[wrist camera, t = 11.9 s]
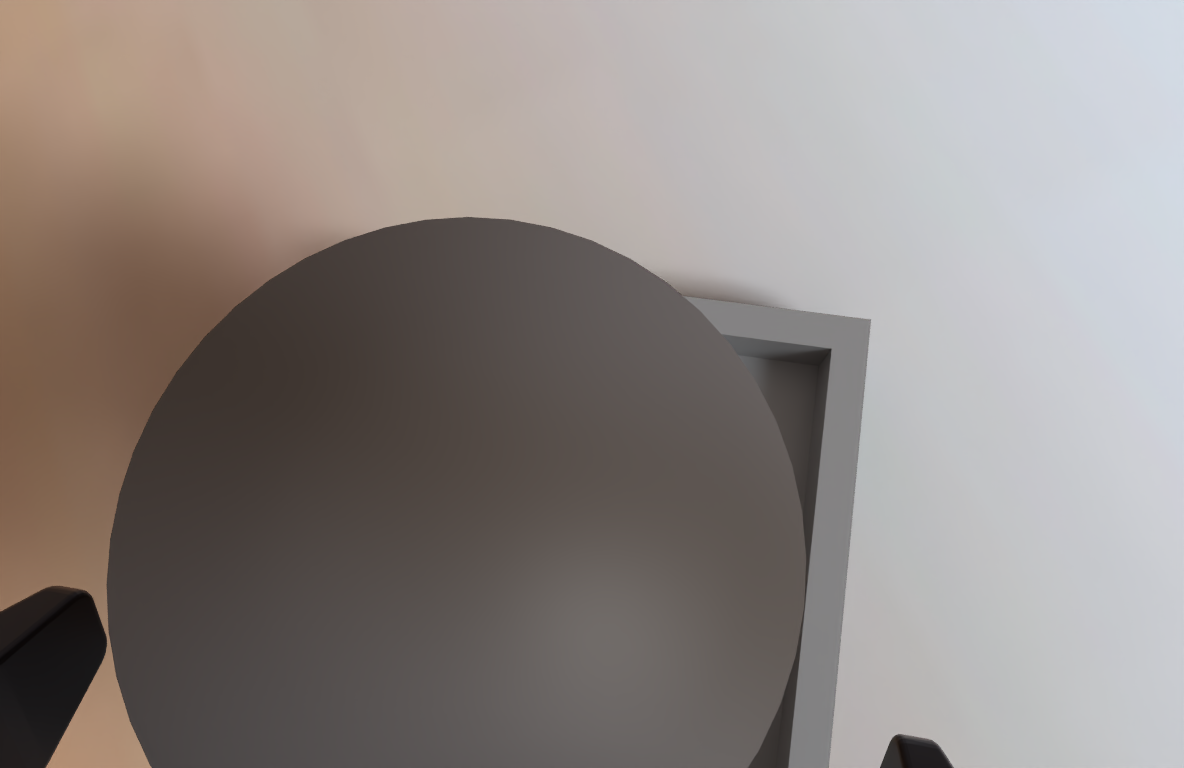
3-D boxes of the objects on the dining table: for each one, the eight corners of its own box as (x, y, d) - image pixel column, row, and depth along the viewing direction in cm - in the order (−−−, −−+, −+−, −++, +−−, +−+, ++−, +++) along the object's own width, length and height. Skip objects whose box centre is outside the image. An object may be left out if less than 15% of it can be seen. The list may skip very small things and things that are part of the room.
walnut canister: (669, 730, 20) (696, 1058, 6) (422, 649, 20) (-4, 795, 7) (737, 475, 21) (880, 311, 8) (500, 408, 21) (252, 150, 8)
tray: (794, 884, 19) (814, 925, 17) (303, 788, 21) (258, 813, 18) (848, 347, 22) (871, 319, 20) (410, 290, 23) (382, 257, 21)
